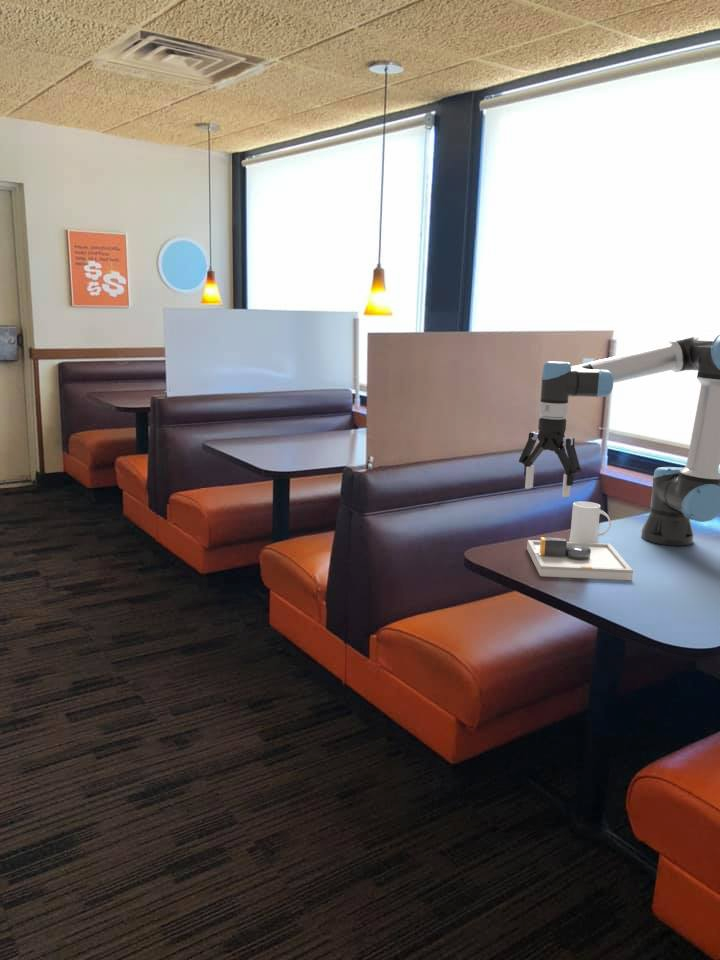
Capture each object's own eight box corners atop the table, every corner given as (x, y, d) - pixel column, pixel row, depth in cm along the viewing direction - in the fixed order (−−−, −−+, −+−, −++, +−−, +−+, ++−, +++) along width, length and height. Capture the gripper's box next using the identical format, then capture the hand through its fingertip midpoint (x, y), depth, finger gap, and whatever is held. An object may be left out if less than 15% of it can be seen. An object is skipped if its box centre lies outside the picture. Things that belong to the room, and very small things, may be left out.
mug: (611, 543, 234) (615, 505, 232) (603, 550, 227) (607, 511, 225) (574, 536, 241) (577, 499, 238) (565, 542, 234) (568, 505, 231)
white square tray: (609, 552, 225) (610, 542, 224) (631, 580, 201) (633, 569, 201) (526, 549, 226) (527, 539, 226) (540, 576, 203) (541, 565, 202)
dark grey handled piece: (587, 552, 217) (588, 537, 216) (592, 559, 210) (594, 544, 209) (538, 549, 217) (539, 535, 216) (542, 557, 211) (543, 542, 210)
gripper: (509, 413, 220) (505, 486, 225) (582, 423, 203) (575, 502, 207) (525, 411, 225) (520, 482, 230) (598, 421, 207) (591, 498, 212)
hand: (546, 492), depth 219 cm, fingers open, 12 cm apart
